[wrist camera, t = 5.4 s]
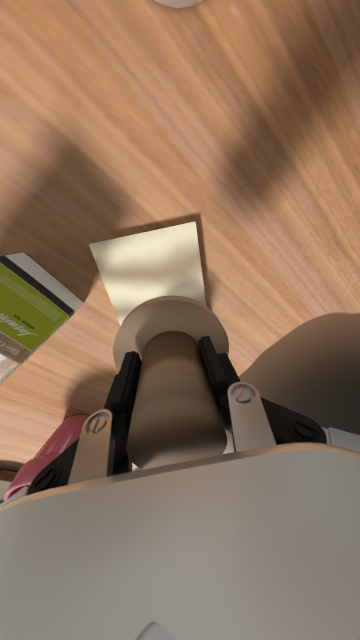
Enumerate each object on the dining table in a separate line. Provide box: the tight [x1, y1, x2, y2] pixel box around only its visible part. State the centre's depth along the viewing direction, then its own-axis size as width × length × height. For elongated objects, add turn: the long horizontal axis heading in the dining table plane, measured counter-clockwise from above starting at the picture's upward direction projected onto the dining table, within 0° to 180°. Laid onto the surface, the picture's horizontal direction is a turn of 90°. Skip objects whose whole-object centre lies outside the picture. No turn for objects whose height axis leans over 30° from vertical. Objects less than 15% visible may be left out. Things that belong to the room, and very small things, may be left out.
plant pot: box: [4, 415, 89, 501], centre depth 35 cm, size 14×14×13 cm
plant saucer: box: [0, 470, 18, 504], centre depth 48 cm, size 21×21×3 cm
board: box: [89, 222, 206, 326], centre depth 29 cm, size 22×14×1 cm, turn 11°
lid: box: [113, 295, 229, 470], centre depth 10 cm, size 8×8×7 cm
